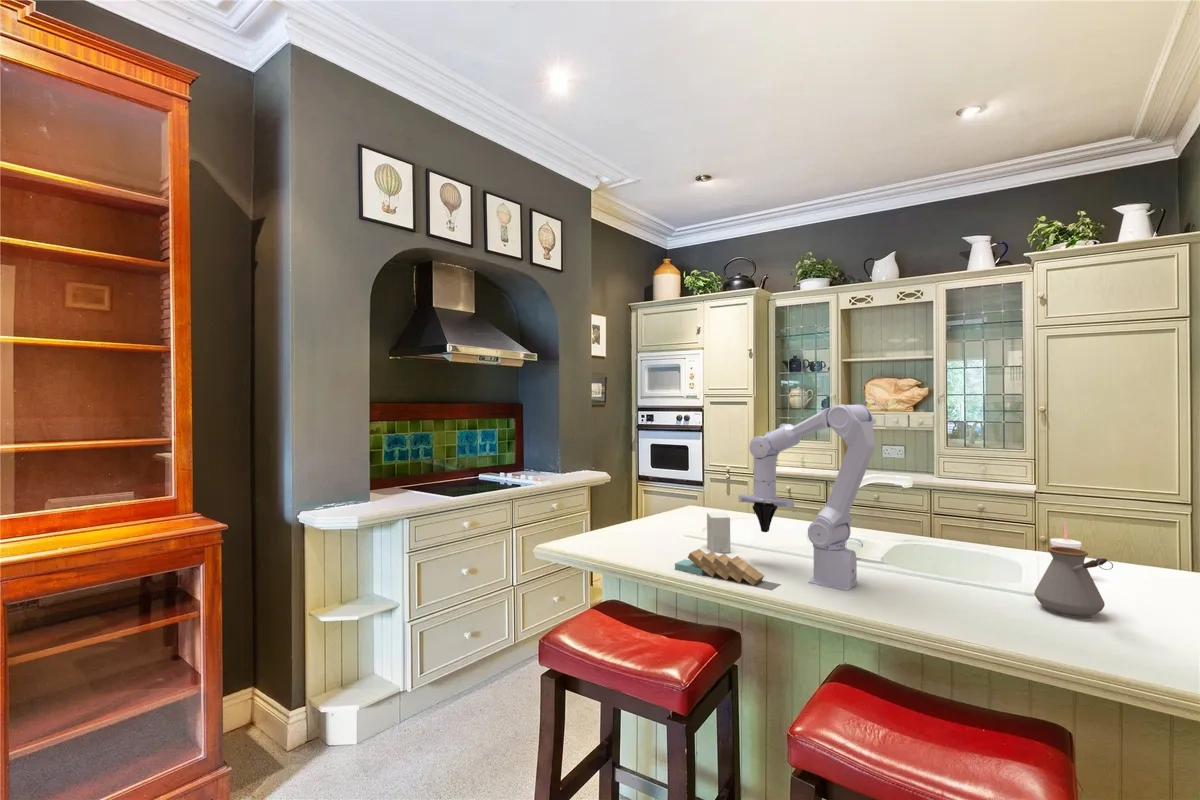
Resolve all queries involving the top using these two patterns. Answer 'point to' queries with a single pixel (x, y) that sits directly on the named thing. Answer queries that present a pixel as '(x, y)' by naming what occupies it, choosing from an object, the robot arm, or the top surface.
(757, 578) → the domino
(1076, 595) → the coffee pot
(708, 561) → the domino
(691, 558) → the domino
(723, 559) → the domino
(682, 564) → the teal domino
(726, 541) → the small box
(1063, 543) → the beverage cup
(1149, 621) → the top surface
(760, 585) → the mat
